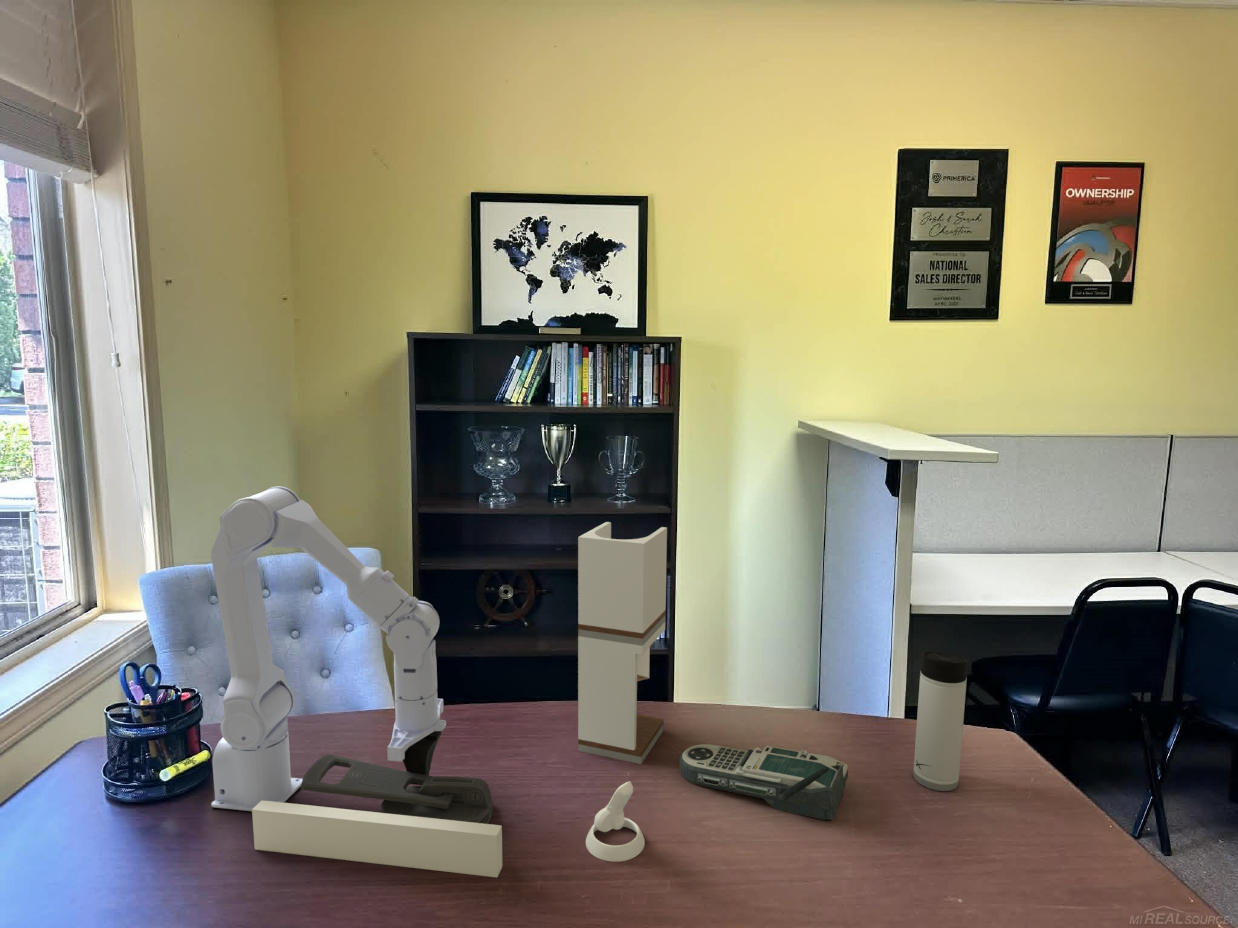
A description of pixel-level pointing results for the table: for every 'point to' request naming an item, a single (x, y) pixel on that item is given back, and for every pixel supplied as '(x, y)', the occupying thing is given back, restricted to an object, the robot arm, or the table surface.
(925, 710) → the travel mug
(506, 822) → the table surface
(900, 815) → the table surface
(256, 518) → the robot arm
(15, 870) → the table surface
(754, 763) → the communication device
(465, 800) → the zipper pull
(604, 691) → the white square tower
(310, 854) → the cream rectangular bar
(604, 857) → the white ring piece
